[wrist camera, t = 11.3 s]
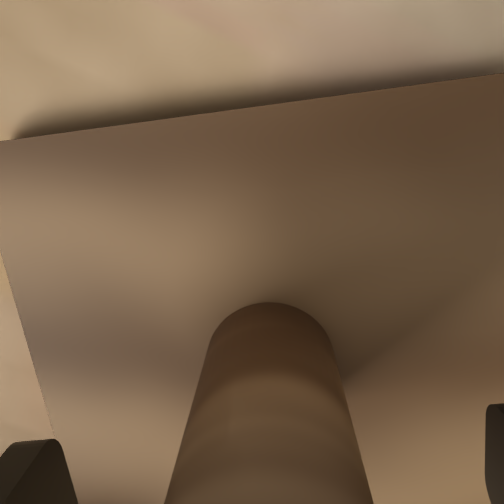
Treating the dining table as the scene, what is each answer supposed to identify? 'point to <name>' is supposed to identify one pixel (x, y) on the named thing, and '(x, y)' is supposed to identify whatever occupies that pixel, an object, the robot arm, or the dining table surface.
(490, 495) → the robot arm
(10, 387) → the dining table surface
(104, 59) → the dining table surface
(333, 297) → the lid
